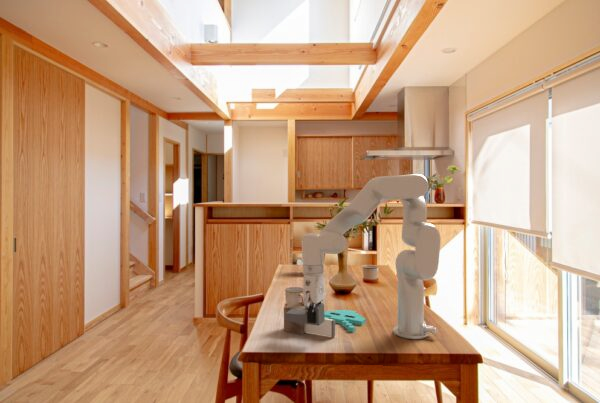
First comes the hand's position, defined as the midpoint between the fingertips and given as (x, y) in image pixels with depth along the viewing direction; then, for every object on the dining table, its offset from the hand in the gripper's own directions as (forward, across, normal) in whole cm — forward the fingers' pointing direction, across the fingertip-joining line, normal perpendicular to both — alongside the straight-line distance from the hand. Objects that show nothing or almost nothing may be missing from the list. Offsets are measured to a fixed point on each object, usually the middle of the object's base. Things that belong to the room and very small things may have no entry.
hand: (315, 319), depth 134 cm
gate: (+8, +8, +3) cm, 12 cm away
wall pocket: (+8, +8, +12) cm, 17 cm away
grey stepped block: (+1, 0, +4) cm, 4 cm away
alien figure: (+10, +27, +1) cm, 29 cm away
